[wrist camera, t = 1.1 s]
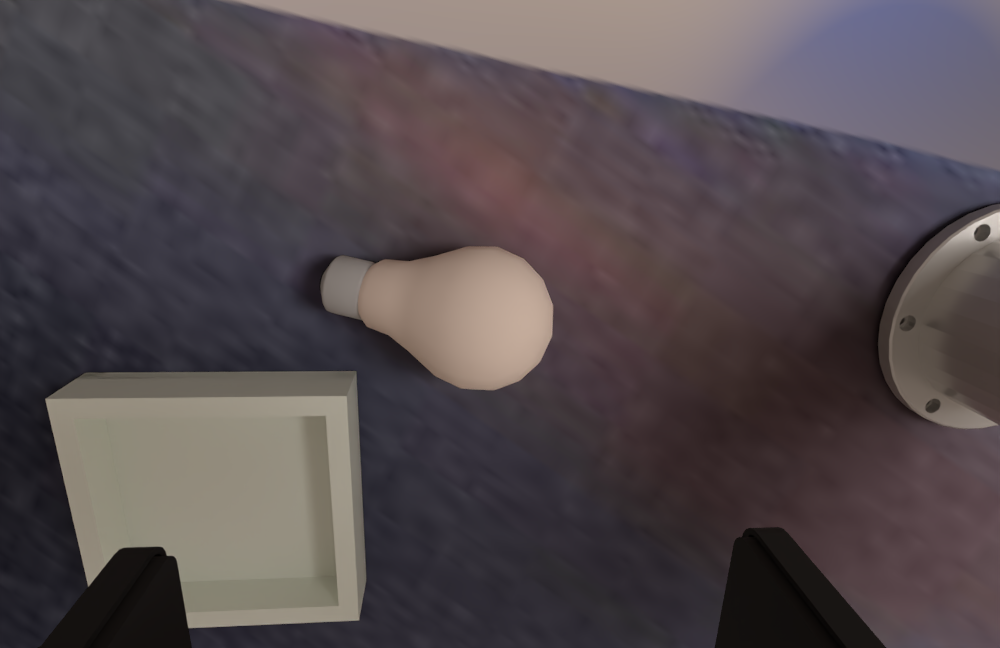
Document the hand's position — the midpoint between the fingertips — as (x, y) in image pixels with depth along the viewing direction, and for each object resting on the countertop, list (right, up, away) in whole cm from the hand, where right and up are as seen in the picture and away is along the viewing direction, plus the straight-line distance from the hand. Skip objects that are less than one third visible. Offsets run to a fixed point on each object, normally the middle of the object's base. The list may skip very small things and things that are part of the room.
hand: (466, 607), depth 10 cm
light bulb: (-3, +6, +19) cm, 20 cm away
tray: (-13, -4, +21) cm, 25 cm away
